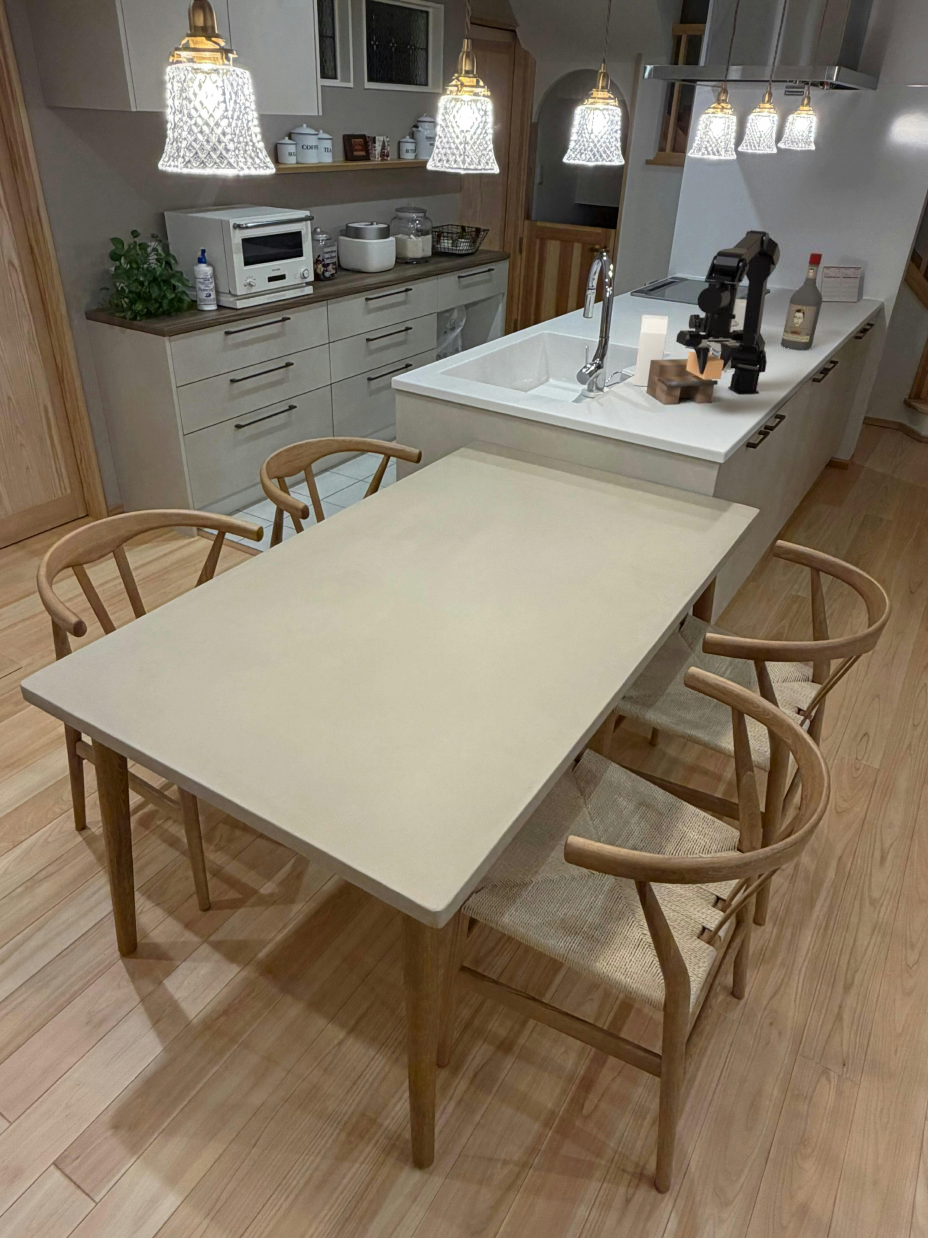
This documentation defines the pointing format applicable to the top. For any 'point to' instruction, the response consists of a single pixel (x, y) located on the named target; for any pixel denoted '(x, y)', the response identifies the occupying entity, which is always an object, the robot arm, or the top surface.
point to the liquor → (803, 310)
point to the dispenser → (677, 382)
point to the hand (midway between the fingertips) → (710, 373)
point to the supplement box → (739, 314)
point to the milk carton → (650, 345)
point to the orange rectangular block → (711, 369)
